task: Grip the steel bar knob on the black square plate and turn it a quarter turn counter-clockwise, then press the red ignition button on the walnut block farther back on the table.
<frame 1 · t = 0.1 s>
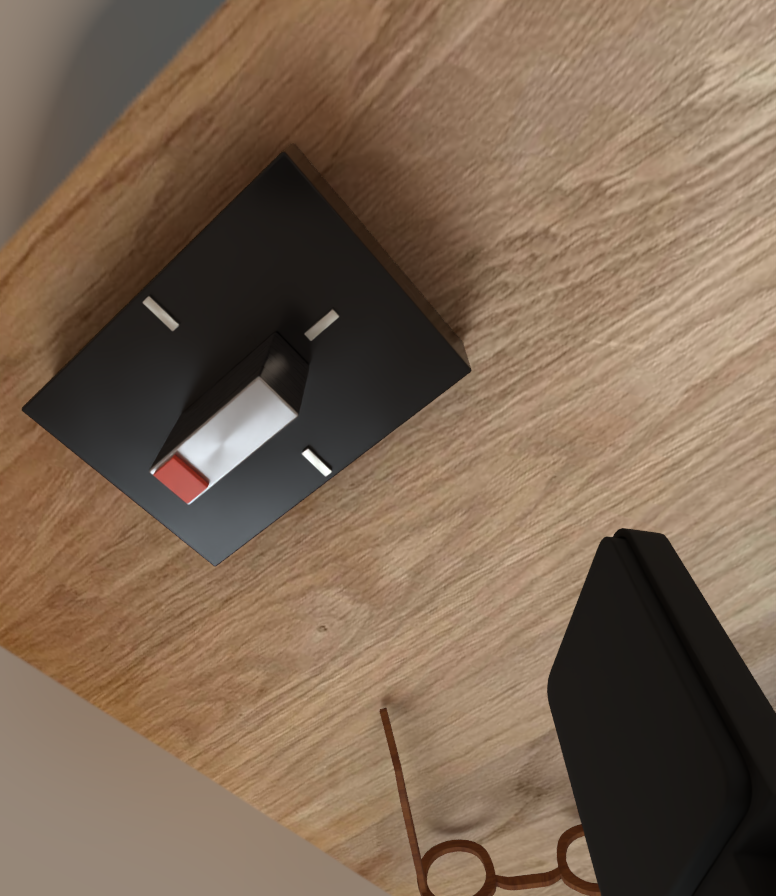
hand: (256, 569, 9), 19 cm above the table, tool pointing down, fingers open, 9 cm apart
hob knob: (233, 417, 24), point 5 cm above the table, hinge at 0.0°
glasses: (507, 760, 41), on the table
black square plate: (256, 361, 29), on the table
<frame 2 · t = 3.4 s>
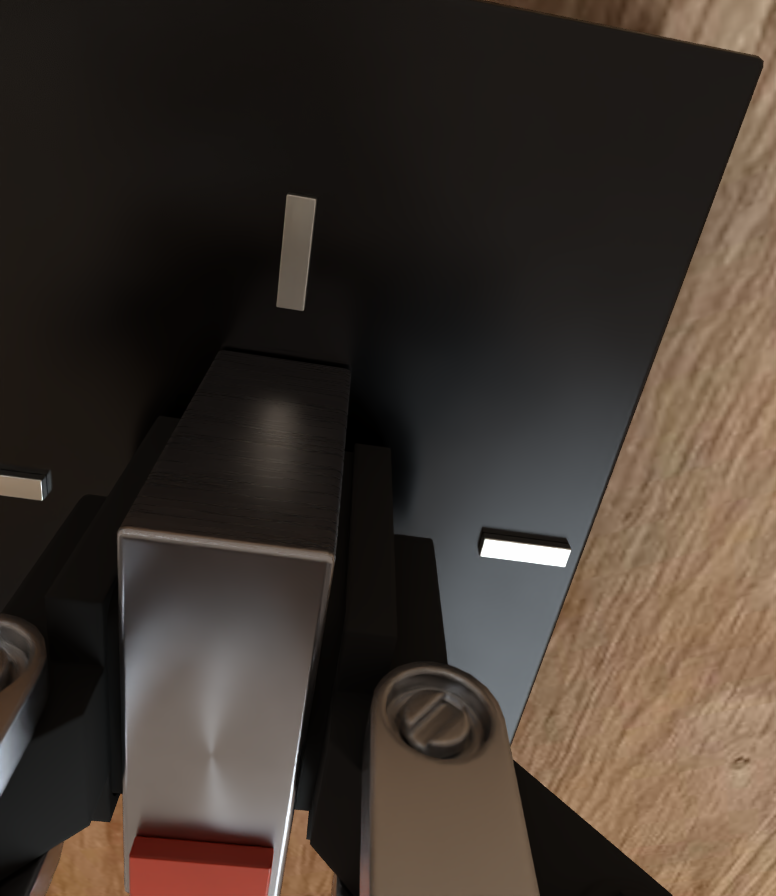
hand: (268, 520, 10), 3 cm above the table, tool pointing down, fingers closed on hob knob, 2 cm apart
hob knob: (244, 617, 9), point 5 cm above the table, hinge at 0.0°, touching gripper
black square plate: (291, 425, 13), on the table
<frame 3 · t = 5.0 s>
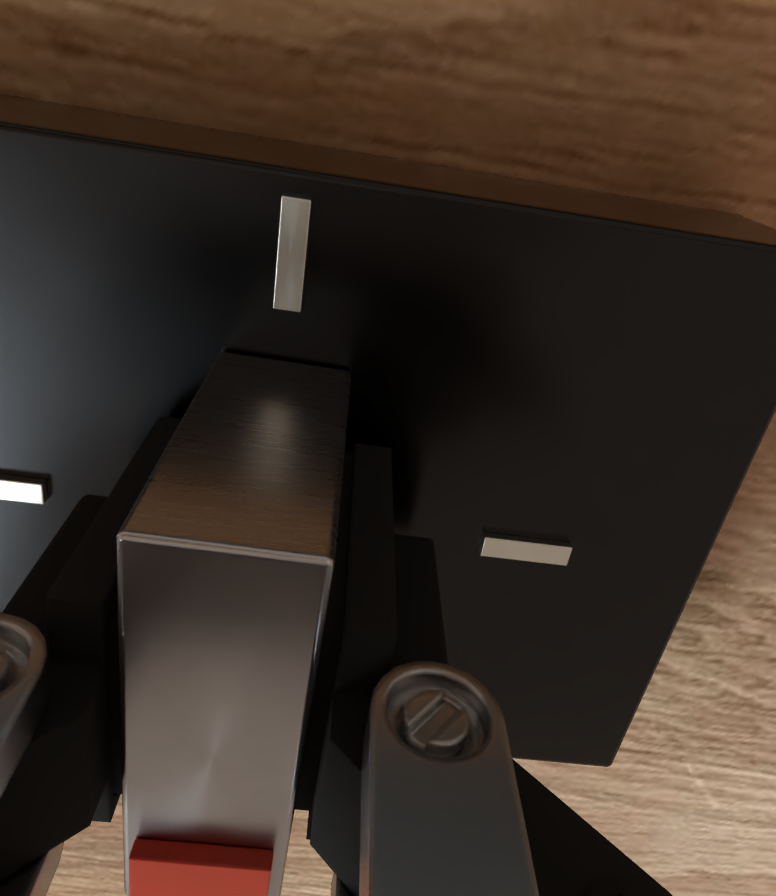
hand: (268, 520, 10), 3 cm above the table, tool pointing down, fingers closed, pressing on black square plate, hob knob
hob knob: (244, 618, 9), point 5 cm above the table, hinge at 89.2°, touching gripper
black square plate: (291, 426, 13), on the table
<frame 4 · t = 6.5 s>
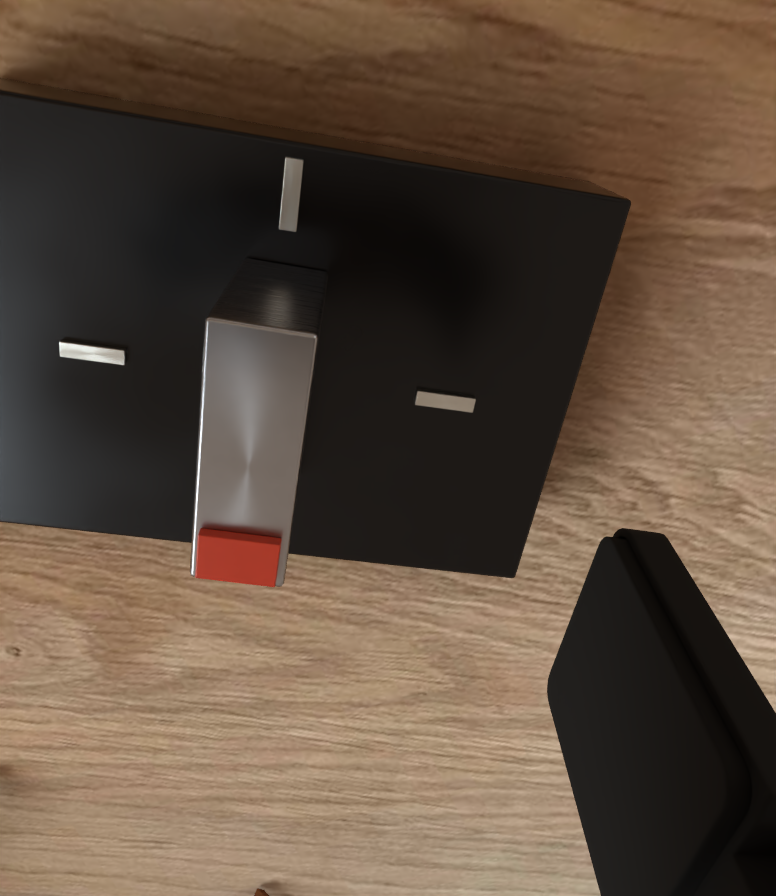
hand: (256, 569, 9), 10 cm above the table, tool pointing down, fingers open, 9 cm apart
hob knob: (261, 418, 14), point 5 cm above the table, hinge at 89.1°
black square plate: (286, 333, 19), on the table
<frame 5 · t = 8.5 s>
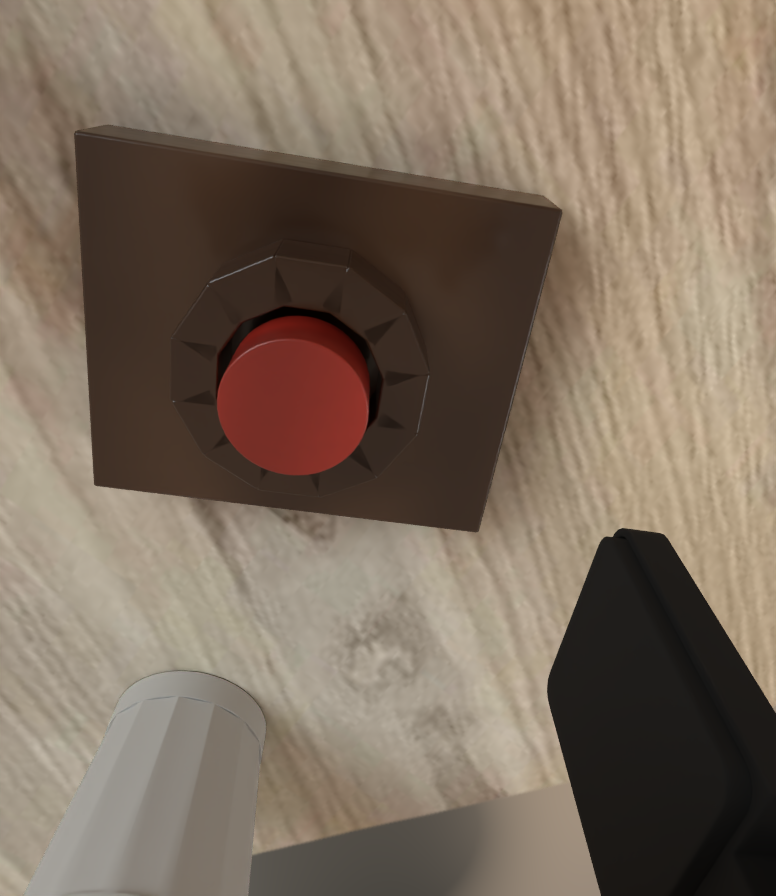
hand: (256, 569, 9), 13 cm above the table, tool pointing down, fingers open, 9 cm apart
cup: (192, 721, 30), on the table
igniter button: (296, 396, 17), point 4 cm above the table, slide at 0.1 cm
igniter: (312, 335, 21), on the table
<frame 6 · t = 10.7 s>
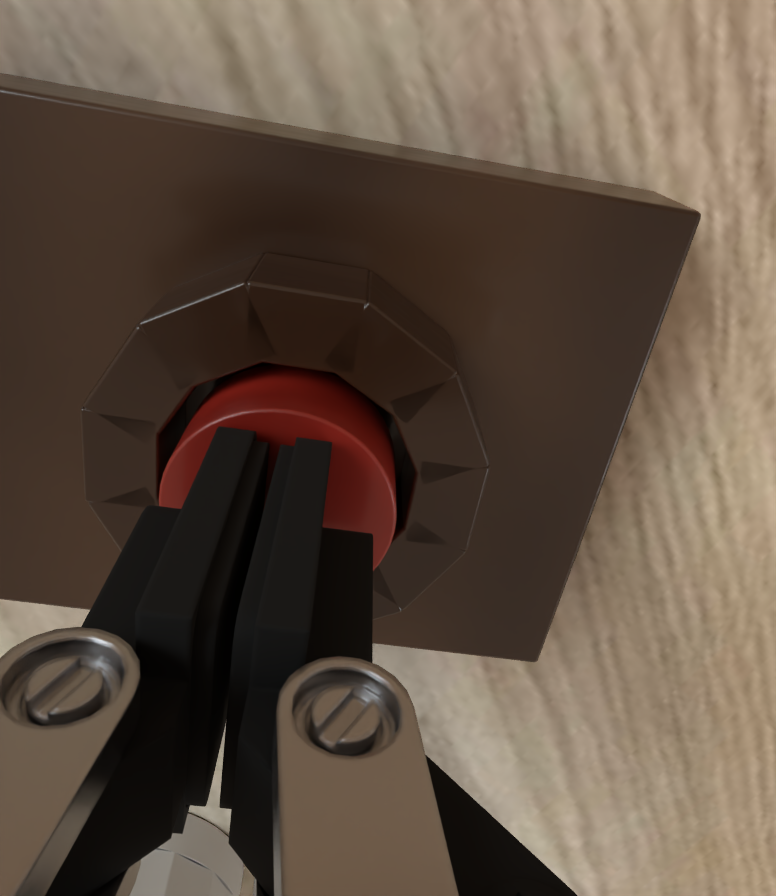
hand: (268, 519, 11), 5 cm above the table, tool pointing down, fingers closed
cup: (149, 858, 23), on the table
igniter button: (285, 486, 11), point 4 cm above the table, slide at -0.3 cm, touching gripper
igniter: (308, 386, 15), on the table
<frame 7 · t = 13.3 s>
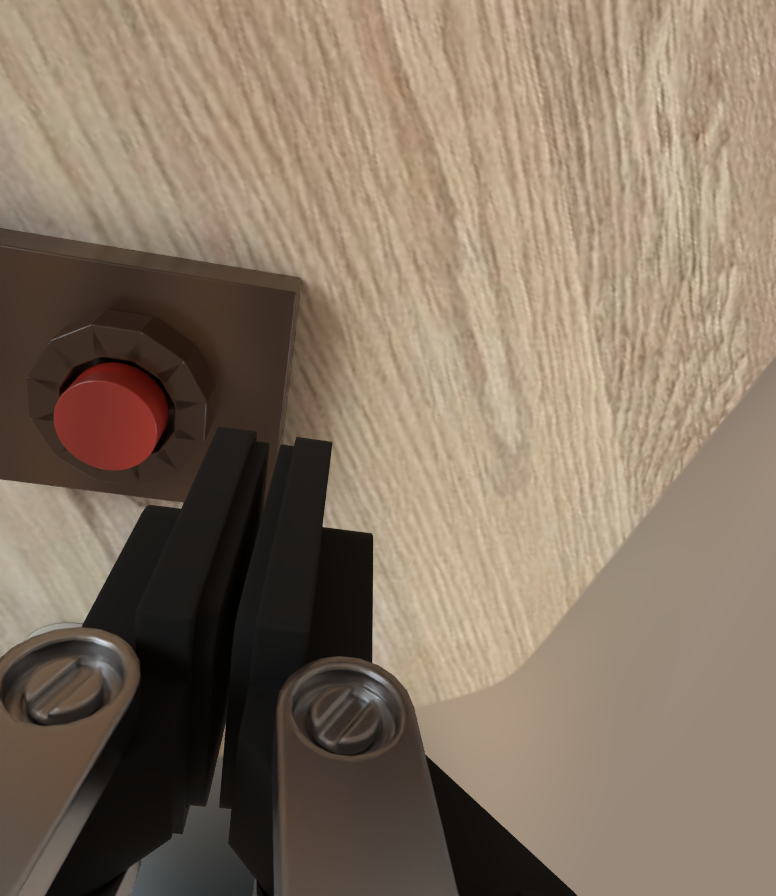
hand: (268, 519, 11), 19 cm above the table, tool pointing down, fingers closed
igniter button: (113, 416, 25), point 4 cm above the table, slide at 0.1 cm
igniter: (146, 370, 29), on the table
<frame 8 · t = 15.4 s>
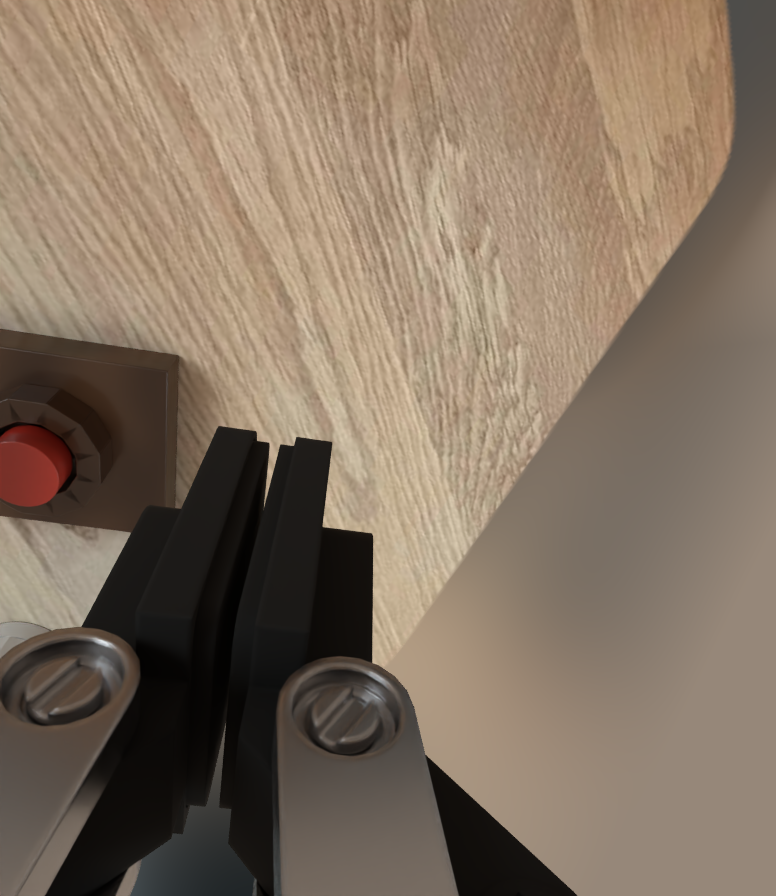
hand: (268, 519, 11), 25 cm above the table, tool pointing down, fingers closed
cup: (28, 656, 46), on the table
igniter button: (27, 465, 34), point 4 cm above the table, slide at 0.1 cm
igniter: (64, 424, 38), on the table
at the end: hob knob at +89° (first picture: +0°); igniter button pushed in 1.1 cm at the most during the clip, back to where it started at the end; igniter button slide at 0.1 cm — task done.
